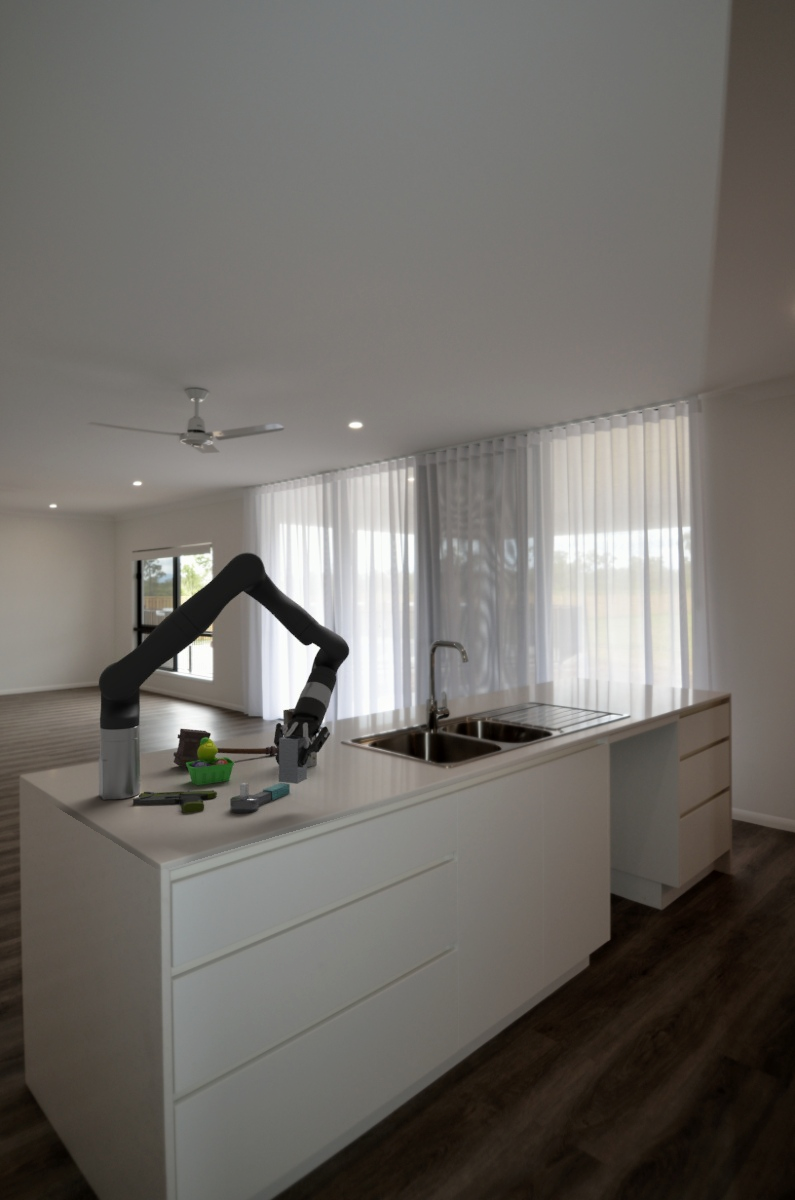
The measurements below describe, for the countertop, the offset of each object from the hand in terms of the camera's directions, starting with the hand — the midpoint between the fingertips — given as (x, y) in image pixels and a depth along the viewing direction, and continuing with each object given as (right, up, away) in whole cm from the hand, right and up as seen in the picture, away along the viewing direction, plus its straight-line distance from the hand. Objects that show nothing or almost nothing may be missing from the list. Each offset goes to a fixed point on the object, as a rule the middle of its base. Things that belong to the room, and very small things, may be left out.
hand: (289, 764), depth 158 cm
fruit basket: (-26, -11, +27) cm, 39 cm away
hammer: (-26, -11, +50) cm, 57 cm away
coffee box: (-4, -11, +45) cm, 46 cm away
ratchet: (-8, -11, +7) cm, 15 cm away
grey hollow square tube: (+1, -4, +2) cm, 5 cm away
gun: (-29, -12, +6) cm, 32 cm away
